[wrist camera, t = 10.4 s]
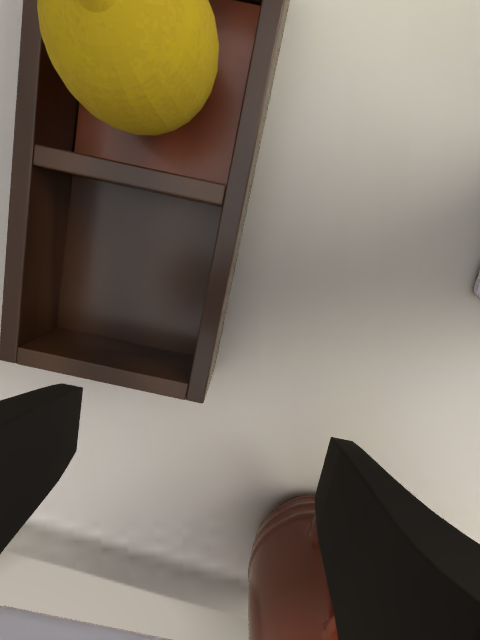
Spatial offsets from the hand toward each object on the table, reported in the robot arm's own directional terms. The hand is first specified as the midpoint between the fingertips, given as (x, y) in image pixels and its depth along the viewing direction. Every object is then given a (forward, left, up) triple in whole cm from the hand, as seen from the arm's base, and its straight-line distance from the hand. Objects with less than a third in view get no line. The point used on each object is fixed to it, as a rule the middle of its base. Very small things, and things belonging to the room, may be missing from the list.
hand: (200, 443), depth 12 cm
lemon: (+5, -11, -9) cm, 15 cm away
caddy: (+5, -7, -10) cm, 13 cm away
